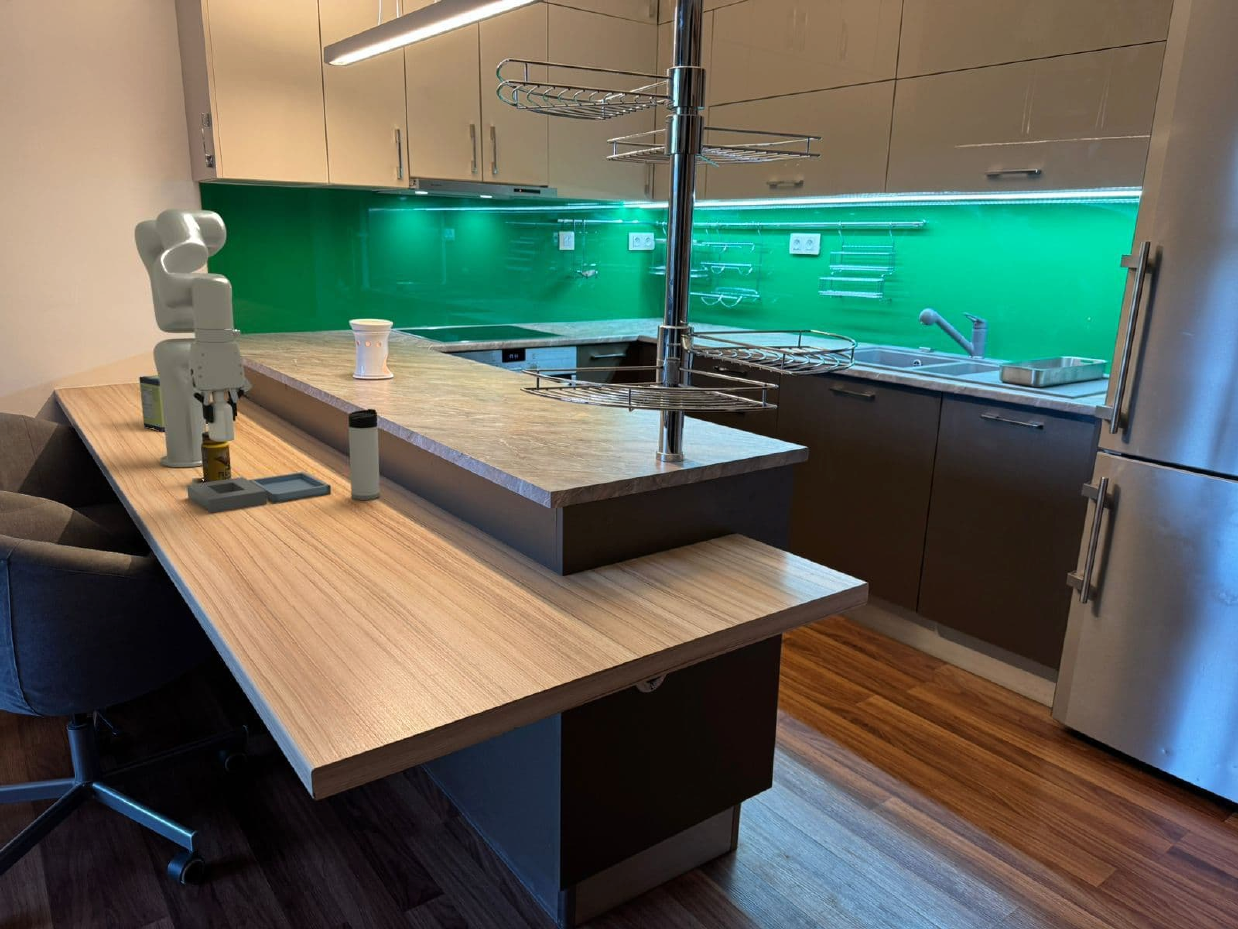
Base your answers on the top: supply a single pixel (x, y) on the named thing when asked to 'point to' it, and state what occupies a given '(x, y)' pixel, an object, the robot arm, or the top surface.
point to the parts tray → (292, 487)
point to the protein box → (152, 402)
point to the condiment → (214, 460)
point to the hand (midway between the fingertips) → (220, 420)
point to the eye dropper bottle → (221, 419)
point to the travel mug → (364, 454)
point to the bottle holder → (226, 494)
